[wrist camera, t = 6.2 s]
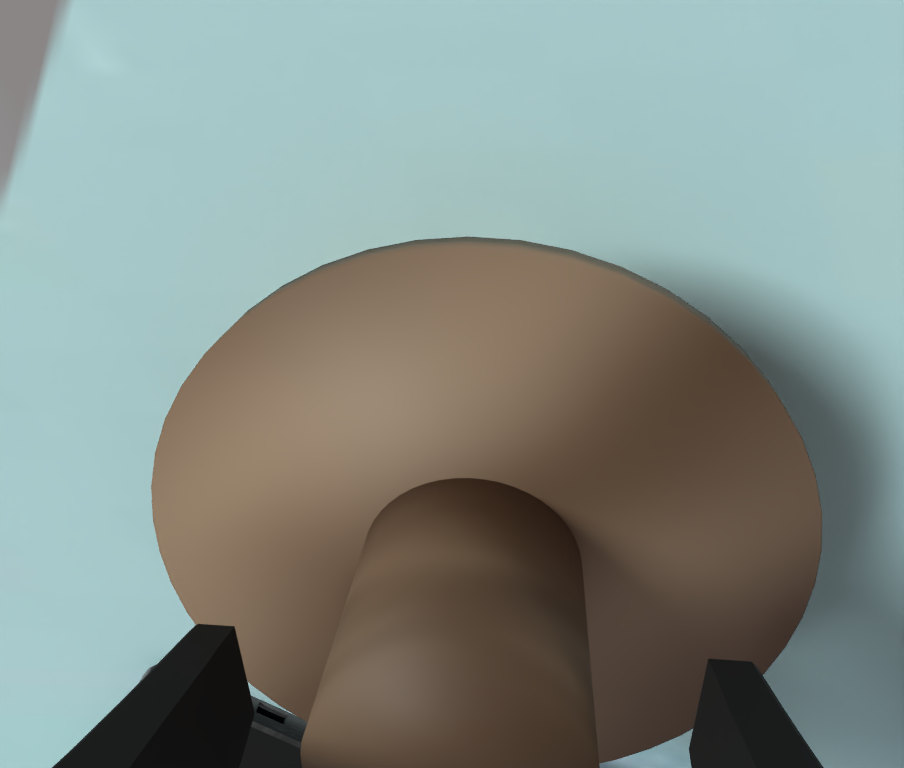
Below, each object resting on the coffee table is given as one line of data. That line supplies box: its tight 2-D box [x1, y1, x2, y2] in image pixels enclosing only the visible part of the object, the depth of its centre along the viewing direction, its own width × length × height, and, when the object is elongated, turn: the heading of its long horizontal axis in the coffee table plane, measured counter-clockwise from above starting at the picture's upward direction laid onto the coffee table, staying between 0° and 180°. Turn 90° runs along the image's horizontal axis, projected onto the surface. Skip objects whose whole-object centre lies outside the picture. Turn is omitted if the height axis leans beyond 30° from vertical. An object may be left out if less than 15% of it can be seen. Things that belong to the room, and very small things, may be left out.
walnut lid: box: [151, 237, 822, 768], centre depth 11 cm, size 12×12×5 cm
